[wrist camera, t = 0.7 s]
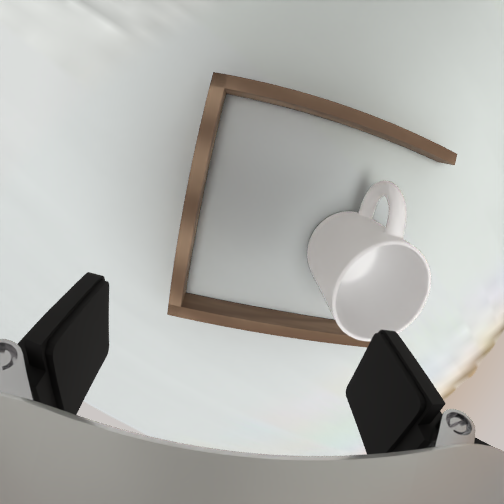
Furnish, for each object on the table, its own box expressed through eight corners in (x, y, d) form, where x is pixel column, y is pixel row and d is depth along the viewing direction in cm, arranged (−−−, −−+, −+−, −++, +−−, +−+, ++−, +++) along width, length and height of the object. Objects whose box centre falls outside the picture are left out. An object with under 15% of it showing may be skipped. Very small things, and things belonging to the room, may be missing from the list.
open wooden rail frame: (216, 79, 25) (213, 72, 22) (441, 151, 28) (457, 154, 25) (173, 300, 32) (167, 314, 29) (377, 334, 35) (386, 349, 32)
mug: (328, 162, 28) (371, 173, 18) (401, 186, 29) (462, 208, 19) (295, 277, 32) (316, 335, 22) (365, 292, 33) (405, 346, 23)
